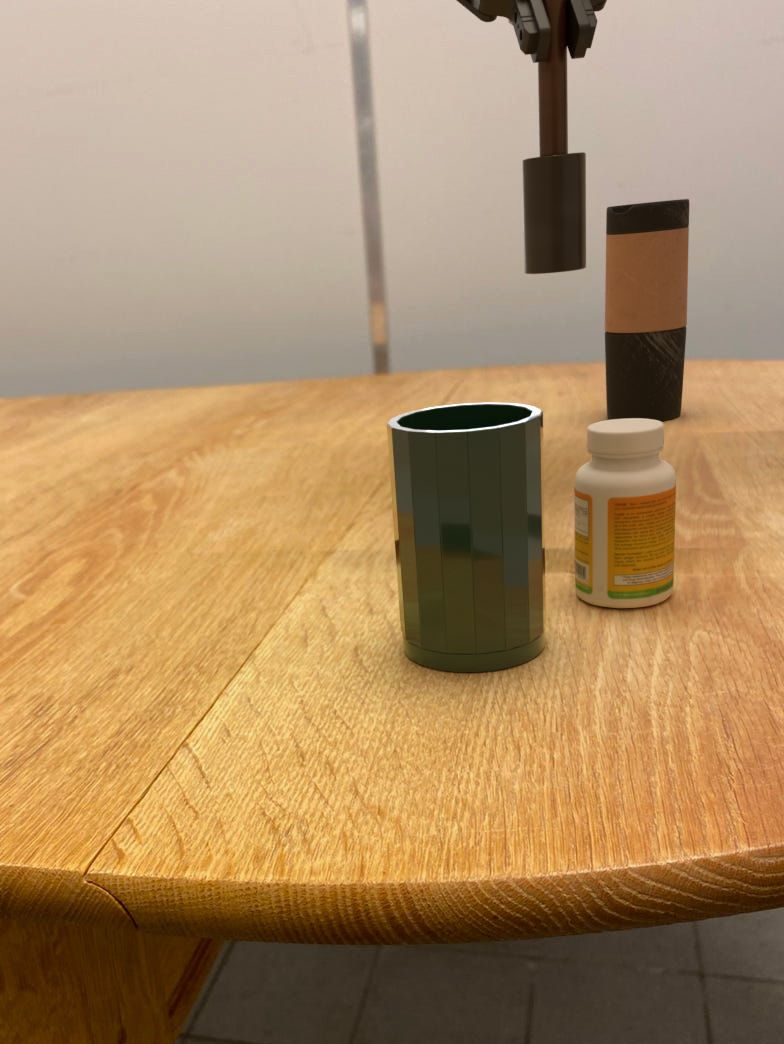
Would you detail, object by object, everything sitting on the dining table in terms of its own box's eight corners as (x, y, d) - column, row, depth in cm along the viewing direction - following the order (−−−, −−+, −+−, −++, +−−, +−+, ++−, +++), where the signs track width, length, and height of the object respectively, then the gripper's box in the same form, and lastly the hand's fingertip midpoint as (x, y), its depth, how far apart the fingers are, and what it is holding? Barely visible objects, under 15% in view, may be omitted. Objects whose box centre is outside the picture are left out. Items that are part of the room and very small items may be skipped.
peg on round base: (587, 265, 72) (587, -24, 66) (584, 270, 68) (582, -36, 62) (527, 271, 73) (521, -13, 67) (521, 275, 70) (513, -24, 63)
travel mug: (680, 407, 110) (686, 198, 102) (687, 421, 103) (694, 198, 96) (603, 411, 112) (604, 206, 104) (605, 425, 105) (606, 207, 97)
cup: (551, 620, 58) (548, 399, 54) (538, 675, 52) (533, 428, 47) (418, 618, 60) (405, 406, 56) (389, 670, 54) (372, 435, 50)
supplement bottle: (690, 588, 61) (696, 417, 57) (643, 617, 57) (647, 437, 54) (605, 573, 64) (606, 412, 61) (556, 600, 61) (554, 431, 57)
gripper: (407, -183, 67) (457, -1, 60) (620, -203, 68) (694, -25, 61) (399, -64, 74) (443, 112, 67) (592, -83, 75) (656, 90, 68)
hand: (562, 46), depth 64 cm, fingers closed on peg on round base, 2 cm apart
